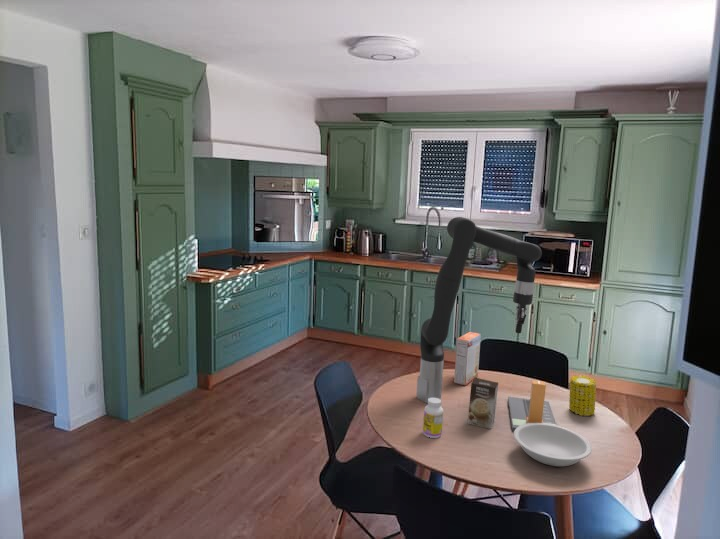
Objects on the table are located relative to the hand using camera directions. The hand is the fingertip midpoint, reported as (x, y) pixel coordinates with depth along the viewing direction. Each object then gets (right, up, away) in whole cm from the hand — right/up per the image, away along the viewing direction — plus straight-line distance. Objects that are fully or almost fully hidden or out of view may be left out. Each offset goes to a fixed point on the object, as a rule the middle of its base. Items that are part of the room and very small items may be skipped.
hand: (518, 332), depth 216 cm
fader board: (0, -31, -16) cm, 35 cm away
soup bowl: (-3, -36, -45) cm, 57 cm away
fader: (-2, -30, -25) cm, 39 cm away
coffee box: (-21, -31, -22) cm, 43 cm away
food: (+22, -31, -9) cm, 39 cm away
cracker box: (-18, -24, +20) cm, 36 cm away
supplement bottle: (-40, -32, -32) cm, 61 cm away
